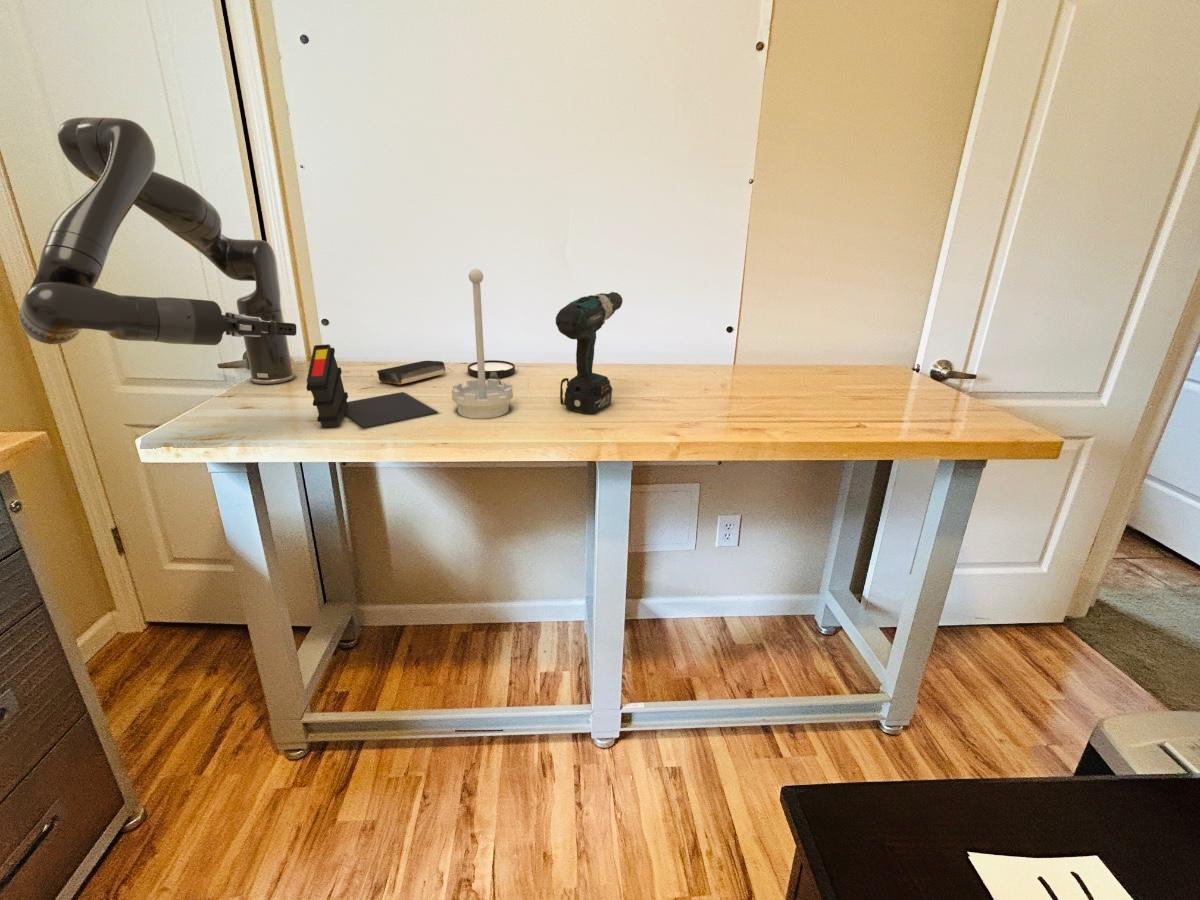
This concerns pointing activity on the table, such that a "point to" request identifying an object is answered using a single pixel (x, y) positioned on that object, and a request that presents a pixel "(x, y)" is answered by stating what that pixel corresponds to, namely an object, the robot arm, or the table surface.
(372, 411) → the mat
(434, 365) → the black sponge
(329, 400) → the black tall stepped block
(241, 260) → the robot arm
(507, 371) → the magnifying glass
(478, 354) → the flag stand
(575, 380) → the power drill
